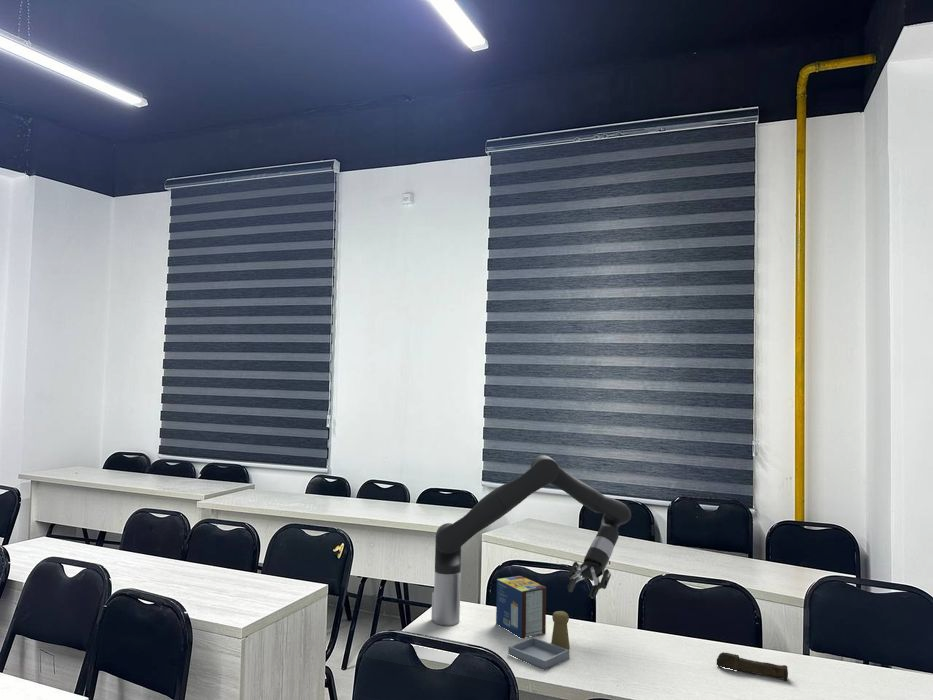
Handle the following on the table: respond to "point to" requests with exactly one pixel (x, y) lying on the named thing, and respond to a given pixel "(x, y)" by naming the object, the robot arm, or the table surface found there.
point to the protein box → (521, 606)
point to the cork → (560, 630)
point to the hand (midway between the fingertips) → (580, 593)
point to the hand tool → (752, 666)
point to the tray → (539, 653)
